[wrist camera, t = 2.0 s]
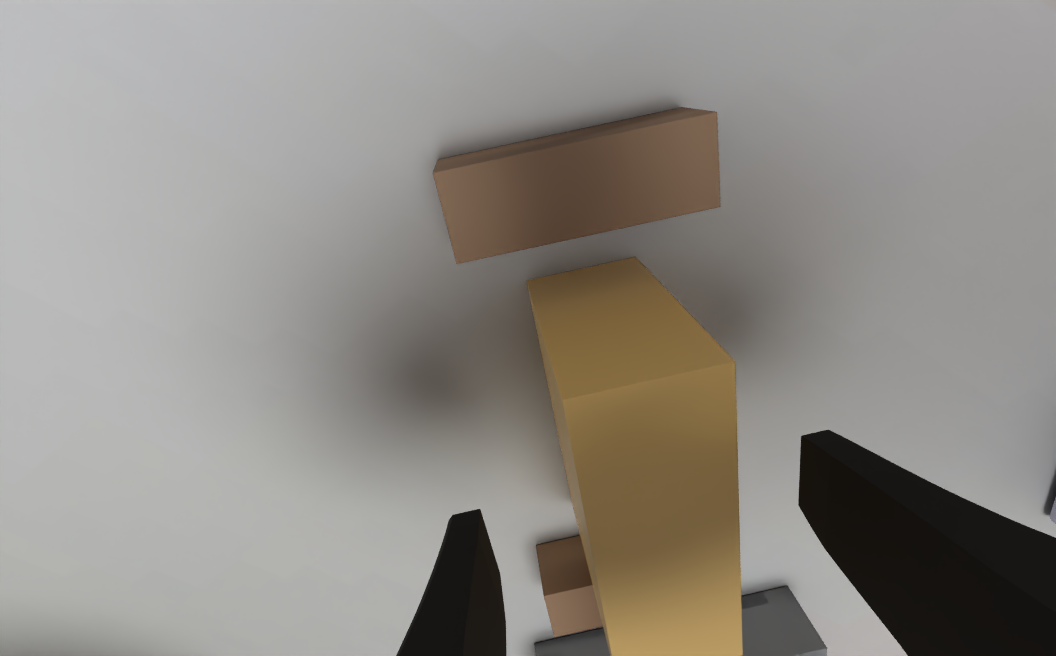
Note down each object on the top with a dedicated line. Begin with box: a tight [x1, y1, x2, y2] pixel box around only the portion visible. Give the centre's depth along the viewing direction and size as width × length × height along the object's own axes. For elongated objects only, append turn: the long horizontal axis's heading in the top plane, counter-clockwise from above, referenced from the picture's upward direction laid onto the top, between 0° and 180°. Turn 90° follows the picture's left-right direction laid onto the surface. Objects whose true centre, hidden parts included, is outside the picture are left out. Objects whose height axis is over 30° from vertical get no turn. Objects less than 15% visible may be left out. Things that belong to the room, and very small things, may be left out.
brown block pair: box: [433, 107, 720, 637], centre depth 15 cm, size 6×15×2 cm, turn 11°
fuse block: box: [527, 257, 743, 656], centre depth 14 cm, size 3×8×6 cm, turn 11°
